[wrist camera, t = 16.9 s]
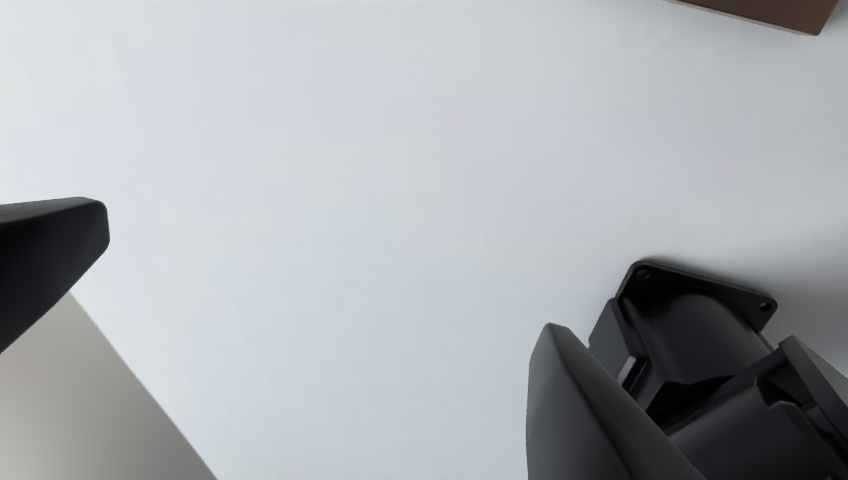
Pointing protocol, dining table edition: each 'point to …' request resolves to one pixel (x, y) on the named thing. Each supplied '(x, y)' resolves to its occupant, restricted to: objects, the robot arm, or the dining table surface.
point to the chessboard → (772, 12)
